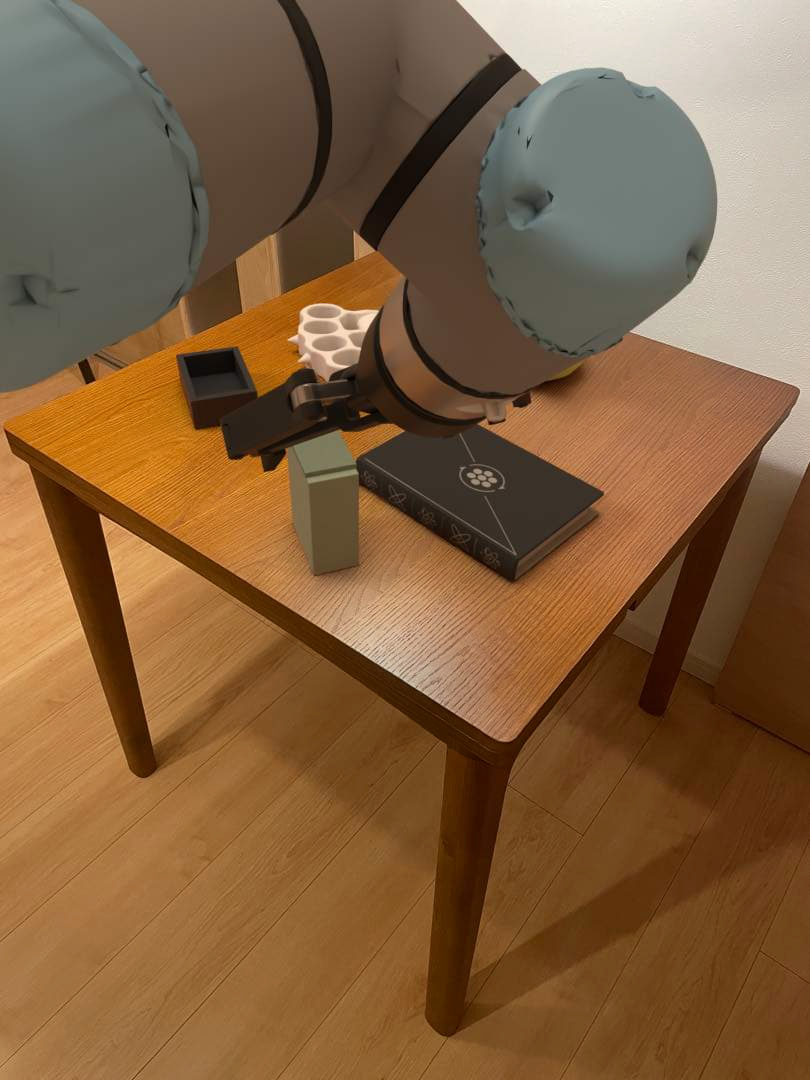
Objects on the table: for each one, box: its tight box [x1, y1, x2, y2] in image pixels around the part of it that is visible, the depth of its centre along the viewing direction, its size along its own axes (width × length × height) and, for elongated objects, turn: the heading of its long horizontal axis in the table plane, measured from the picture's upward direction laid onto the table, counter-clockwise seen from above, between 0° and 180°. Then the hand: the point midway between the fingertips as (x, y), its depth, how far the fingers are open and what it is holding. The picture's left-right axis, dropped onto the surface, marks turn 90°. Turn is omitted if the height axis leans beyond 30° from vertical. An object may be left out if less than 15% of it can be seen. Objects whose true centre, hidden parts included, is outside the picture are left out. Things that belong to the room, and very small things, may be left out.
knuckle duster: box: [286, 303, 379, 382], centre depth 105 cm, size 3×18×15 cm
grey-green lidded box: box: [286, 430, 360, 576], centre depth 75 cm, size 5×8×12 cm, turn 20°
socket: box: [175, 345, 259, 430], centre depth 96 cm, size 8×11×4 cm
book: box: [355, 423, 605, 583], centre depth 84 cm, size 22×15×3 cm
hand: (357, 436), depth 58 cm, fingers open, 13 cm apart
